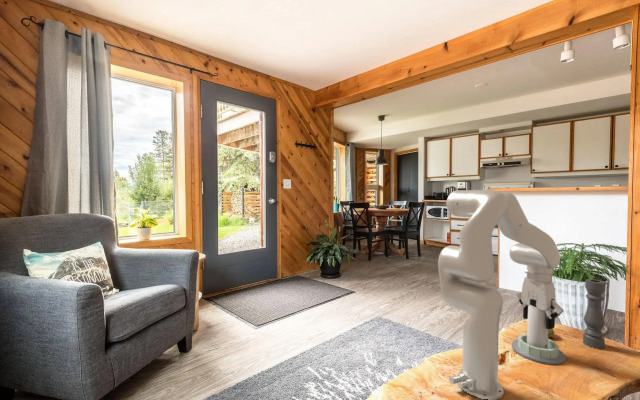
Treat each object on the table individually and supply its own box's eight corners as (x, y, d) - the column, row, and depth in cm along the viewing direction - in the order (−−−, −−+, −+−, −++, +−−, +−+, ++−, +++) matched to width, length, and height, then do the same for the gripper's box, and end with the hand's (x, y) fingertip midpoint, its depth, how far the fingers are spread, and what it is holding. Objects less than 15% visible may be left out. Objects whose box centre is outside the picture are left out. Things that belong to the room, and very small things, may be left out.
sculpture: (529, 325, 126) (531, 319, 132) (528, 335, 126) (531, 328, 132) (553, 331, 121) (554, 325, 127) (553, 341, 121) (554, 334, 127)
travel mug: (552, 355, 109) (554, 300, 108) (531, 353, 110) (533, 298, 109) (542, 346, 115) (545, 294, 114) (523, 344, 116) (525, 292, 115)
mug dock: (542, 368, 103) (542, 356, 102) (501, 344, 118) (502, 334, 118) (576, 360, 107) (577, 349, 107) (533, 339, 122) (533, 329, 122)
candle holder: (604, 344, 118) (606, 280, 117) (604, 350, 113) (606, 284, 113) (583, 339, 122) (584, 277, 121) (582, 345, 118) (584, 281, 117)
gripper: (510, 271, 119) (509, 315, 119) (555, 284, 102) (554, 335, 103) (525, 269, 121) (524, 313, 122) (572, 282, 104) (570, 332, 105)
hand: (538, 323), depth 112 cm, fingers open, 8 cm apart
